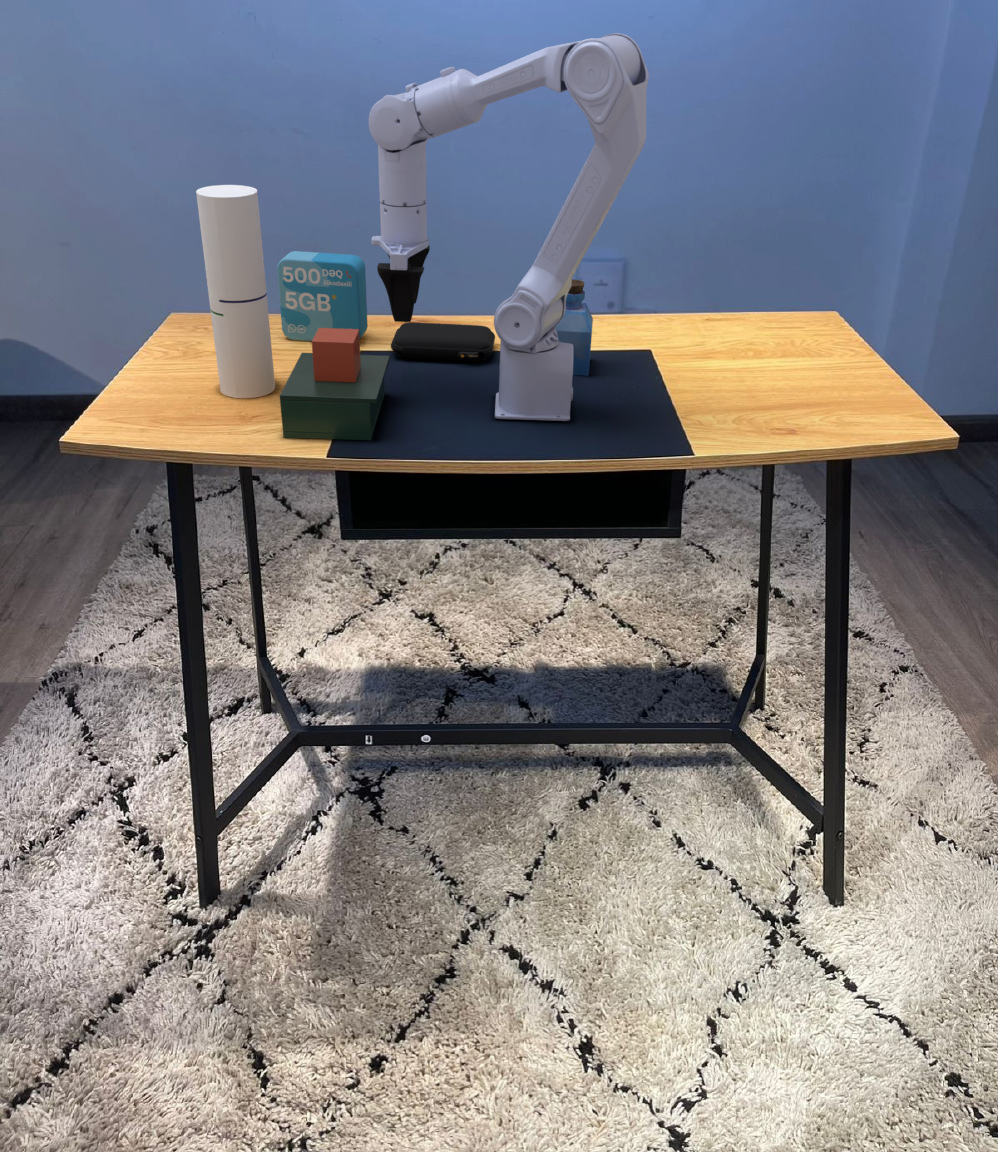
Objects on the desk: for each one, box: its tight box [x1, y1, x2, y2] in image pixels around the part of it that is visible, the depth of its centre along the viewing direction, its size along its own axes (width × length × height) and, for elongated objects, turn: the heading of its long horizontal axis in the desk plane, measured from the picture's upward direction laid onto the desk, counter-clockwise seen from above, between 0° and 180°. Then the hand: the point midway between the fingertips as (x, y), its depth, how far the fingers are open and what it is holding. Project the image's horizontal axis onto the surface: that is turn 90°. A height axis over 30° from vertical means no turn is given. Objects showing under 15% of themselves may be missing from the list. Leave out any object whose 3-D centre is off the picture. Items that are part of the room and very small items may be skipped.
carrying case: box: [390, 321, 496, 362], centre depth 148 cm, size 11×3×15 cm
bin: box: [279, 379, 386, 441], centre depth 127 cm, size 11×15×5 cm
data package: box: [276, 250, 368, 342], centre depth 150 cm, size 12×4×12 cm, turn 82°
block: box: [311, 328, 361, 382], centre depth 125 cm, size 5×5×5 cm
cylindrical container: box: [195, 184, 276, 399], centre depth 129 cm, size 7×7×25 cm
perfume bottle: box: [556, 278, 594, 377], centre depth 143 cm, size 6×6×12 cm
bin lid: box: [279, 352, 391, 403], centre depth 126 cm, size 11×15×1 cm
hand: (405, 311), depth 132 cm, fingers open, 7 cm apart
